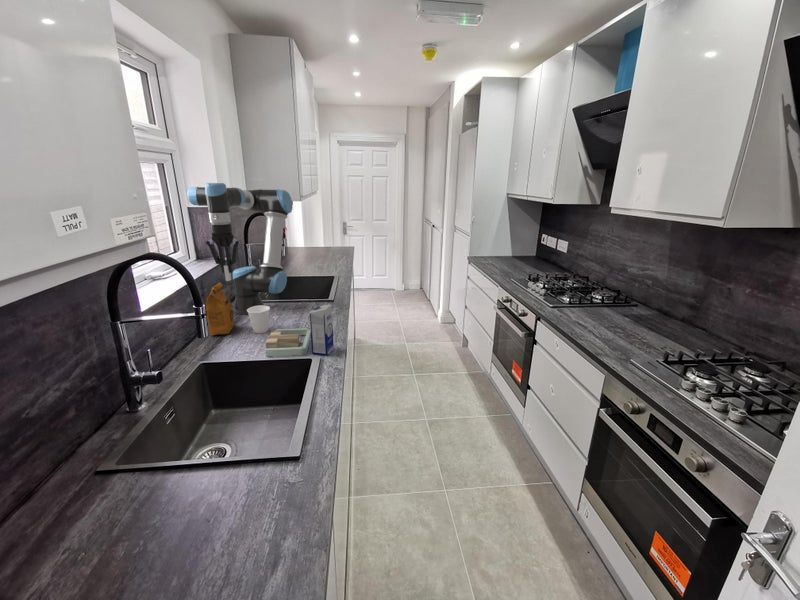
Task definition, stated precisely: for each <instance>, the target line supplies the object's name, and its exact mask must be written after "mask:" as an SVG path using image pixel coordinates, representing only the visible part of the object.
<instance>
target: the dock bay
mask: <svg viewBox="0 0 800 600" xmlns="http://www.w3.org/2000/svg"><path fill="white" fill-rule="evenodd" d="M274 331H281V333H282V335H289V334H299V337H303V336H302V335H306V336H304V340H303V344H302V346H298V347H279V348H267V349H266V348H265V357H266V356H278V357H289V356H288V355H300V356H307V354H308V350H309V346H310V343H311V333H310V327H305V328H303V327H301V328H278V329H275V330H274Z"/></svg>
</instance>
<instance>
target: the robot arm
mask: <svg viewBox="0 0 800 600" xmlns="http://www.w3.org/2000/svg"><path fill="white" fill-rule="evenodd" d="M186 195H187V200H188V202H189V203H190V204H191V205H193V206H198V207H200V206H201V207H202V206H203V207H207V209H208V217H209V223H210V230H211V238H210V239H208V240H206V241H205V243H206V245H207V246H208V248H209V250H210V253H211V254H212V257H213V260H214V262H215V264H216V265H219V266H221V267H220V268H221V271H222V273H223V274H224V278H225V281H226V282H230V281H231V280H232V281H233V288H234V295H235V299H234V302H233V313H234V314H236V313H237V315H243V316H244V315H246V316H247V315H249V314H248V312H247V309H248V308H250V307H254V306H261V305H262V306H265V304H264V302H263V300H262V298H261V296H260V293H262V294H264V293H265V294H279V293H283V291H284V289H285V288H286V286H287V282H288V277H287V273H286V272H285V271H284V267H283V266H282V265H281V262H282V251H283V236H284V224H285V220H286V219H287V218H288V214H290V213H292V211H293V208H294V207H293V200H292V197H291V195H290V193H289V192H288V191H287V190H284V189H279V188H278V189H260V188H259V189H252V190H251V189H249V190H248V189H247V190H245V189H242V188H239V187H233V186H232V187H227V184H225V183H224V182H206V183H205V185H204V187H200V186H195V187H194V186H193V187H190V188H189V189H188V191H187V194H186ZM230 208H240V209H242V210H246V211H252V212H258V213H263V215H264V216H265V218H266V221H265V234H264V247H263V259H262V260H263V261H262V264H260V265H259V269H257V267H256V266H254V265H252V266H243V267H239V268H236V269H233V265H234V264H236V263H237V259H238V251H239V245H240V243H241V240H240V239H236V238H235V236H234V234H233V229H232V227H233V226H232V224H231V221H232V219H231V215H230V213H231V212H230ZM232 243H233V248H232V251H231V244H232ZM215 245H216V246H217V249H218V250H217V249H216V246H215ZM217 251H218V252H217Z"/></svg>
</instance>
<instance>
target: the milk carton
mask: <svg viewBox="0 0 800 600" xmlns="http://www.w3.org/2000/svg"><path fill="white" fill-rule="evenodd" d="M332 305H333V304H323V305H321V306H320V304H318V305H315V306H313V307H312V310H311V311H310V312H308V318H309V328H310V333H311V339H310V344H311V345H310V346H311V348H310V349H311V355H312V354H313V355H314V356H323V357H328V356H329V355H330V354H331V353H332V352H333V350H334V349H335V347H334V344H335V342H334V330H333V329H334V326H333V325H334V324H333V308H332ZM313 355H312V356H313Z"/></svg>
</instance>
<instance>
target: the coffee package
mask: <svg viewBox="0 0 800 600" xmlns="http://www.w3.org/2000/svg"><path fill="white" fill-rule="evenodd" d="M223 286H224V284H223V283H221V282H218V283H217V284H215V285H214V286H212V287H211V290H210V293H209V294H208V296H207V298H206V301H205V312H206V311H207V315H206V320H207V324H208V331H209V336H212V337H213V336H217V335H227V334H230V332H231V331H232V329H233V328H234V326H235V319H234V314H233V313H234V309H233V305H232V302H231V300H230V299H229V297H228V296H227V295H226V294H225V293H224V291H223V289H222V287H223Z"/></svg>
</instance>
